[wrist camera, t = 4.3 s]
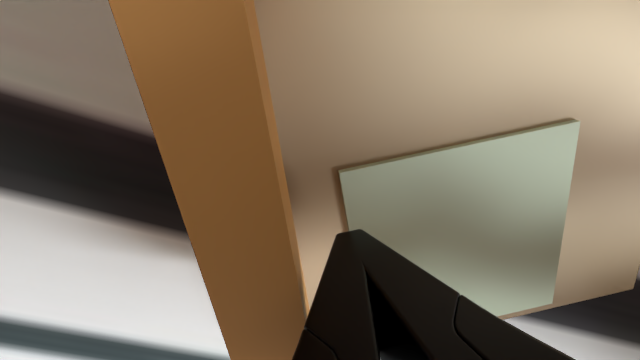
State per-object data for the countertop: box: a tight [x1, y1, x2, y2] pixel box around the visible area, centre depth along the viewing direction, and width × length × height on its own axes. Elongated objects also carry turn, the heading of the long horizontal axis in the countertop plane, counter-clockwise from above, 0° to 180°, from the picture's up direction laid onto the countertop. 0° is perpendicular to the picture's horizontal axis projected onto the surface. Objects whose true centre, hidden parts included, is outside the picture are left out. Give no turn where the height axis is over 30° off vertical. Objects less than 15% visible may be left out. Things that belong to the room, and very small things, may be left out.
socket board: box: [254, 0, 640, 320], centre depth 9 cm, size 22×14×2 cm, turn 10°
